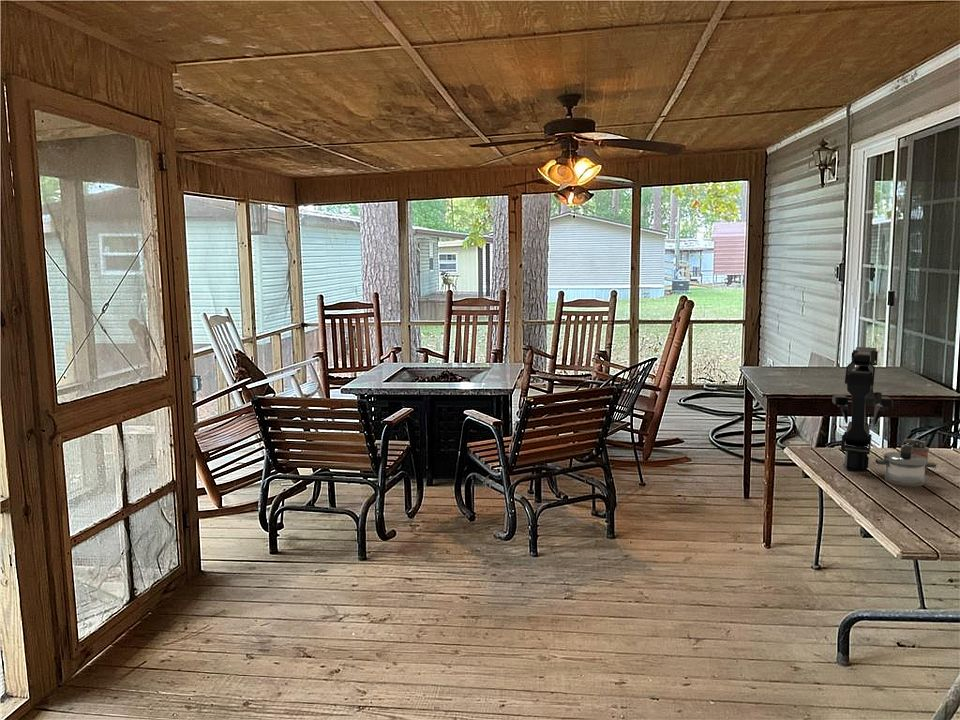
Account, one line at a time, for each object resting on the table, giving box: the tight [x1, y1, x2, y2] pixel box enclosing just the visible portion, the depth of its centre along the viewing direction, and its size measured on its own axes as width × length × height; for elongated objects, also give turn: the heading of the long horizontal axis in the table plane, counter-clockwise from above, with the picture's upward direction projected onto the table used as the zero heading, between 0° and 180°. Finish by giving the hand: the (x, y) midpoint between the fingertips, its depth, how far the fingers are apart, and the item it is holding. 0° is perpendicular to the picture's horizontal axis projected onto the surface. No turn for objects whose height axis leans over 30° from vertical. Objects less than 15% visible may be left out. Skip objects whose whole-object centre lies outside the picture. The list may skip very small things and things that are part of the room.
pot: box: [875, 458, 937, 488], centre depth 229 cm, size 17×11×7 cm, turn 75°
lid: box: [883, 444, 929, 466], centre depth 228 cm, size 12×12×5 cm
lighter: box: [904, 438, 930, 471], centre depth 243 cm, size 8×3×10 cm, turn 56°
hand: (860, 424), depth 252 cm, fingers open, 9 cm apart
